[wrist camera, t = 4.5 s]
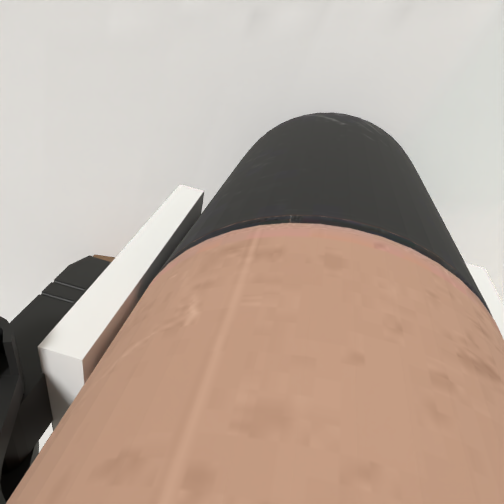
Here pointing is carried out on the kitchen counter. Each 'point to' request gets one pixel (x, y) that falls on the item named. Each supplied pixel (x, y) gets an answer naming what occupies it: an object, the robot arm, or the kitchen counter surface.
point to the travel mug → (296, 348)
